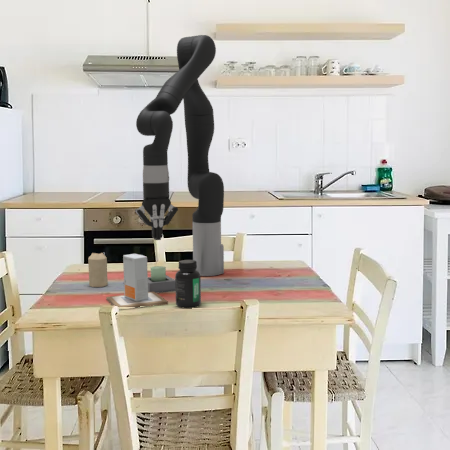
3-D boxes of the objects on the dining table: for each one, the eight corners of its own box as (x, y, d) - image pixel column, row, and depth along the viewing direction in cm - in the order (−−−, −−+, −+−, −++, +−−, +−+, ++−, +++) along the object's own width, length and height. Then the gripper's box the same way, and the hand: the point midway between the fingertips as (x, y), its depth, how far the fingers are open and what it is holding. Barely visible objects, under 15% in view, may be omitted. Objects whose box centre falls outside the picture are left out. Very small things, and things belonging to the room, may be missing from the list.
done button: (163, 279, 201) (162, 265, 201) (167, 283, 197) (167, 268, 197) (149, 281, 200) (148, 267, 199) (153, 284, 196) (153, 269, 195)
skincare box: (123, 297, 186) (122, 255, 184) (136, 294, 188) (135, 253, 187) (136, 301, 181) (134, 258, 179) (149, 299, 184) (147, 256, 182)
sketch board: (154, 294, 193) (154, 290, 193) (167, 304, 182) (167, 300, 182) (106, 299, 187) (106, 296, 187) (117, 310, 177) (117, 306, 176)
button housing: (167, 284, 204) (166, 275, 204) (175, 290, 197) (175, 280, 196) (141, 287, 201) (141, 277, 200) (149, 293, 194) (149, 283, 193)
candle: (108, 282, 207) (107, 251, 206) (106, 287, 202) (105, 254, 200) (90, 283, 207) (89, 251, 206) (87, 287, 202) (86, 255, 200)
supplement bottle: (203, 307, 179) (202, 263, 177) (177, 309, 177) (176, 264, 176) (198, 300, 185) (198, 258, 184) (174, 302, 184) (173, 259, 182)
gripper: (173, 178, 200) (174, 236, 203) (130, 180, 195) (132, 239, 197) (181, 180, 193) (183, 239, 196) (137, 182, 188) (139, 243, 191)
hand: (157, 239), depth 197 cm, fingers closed
